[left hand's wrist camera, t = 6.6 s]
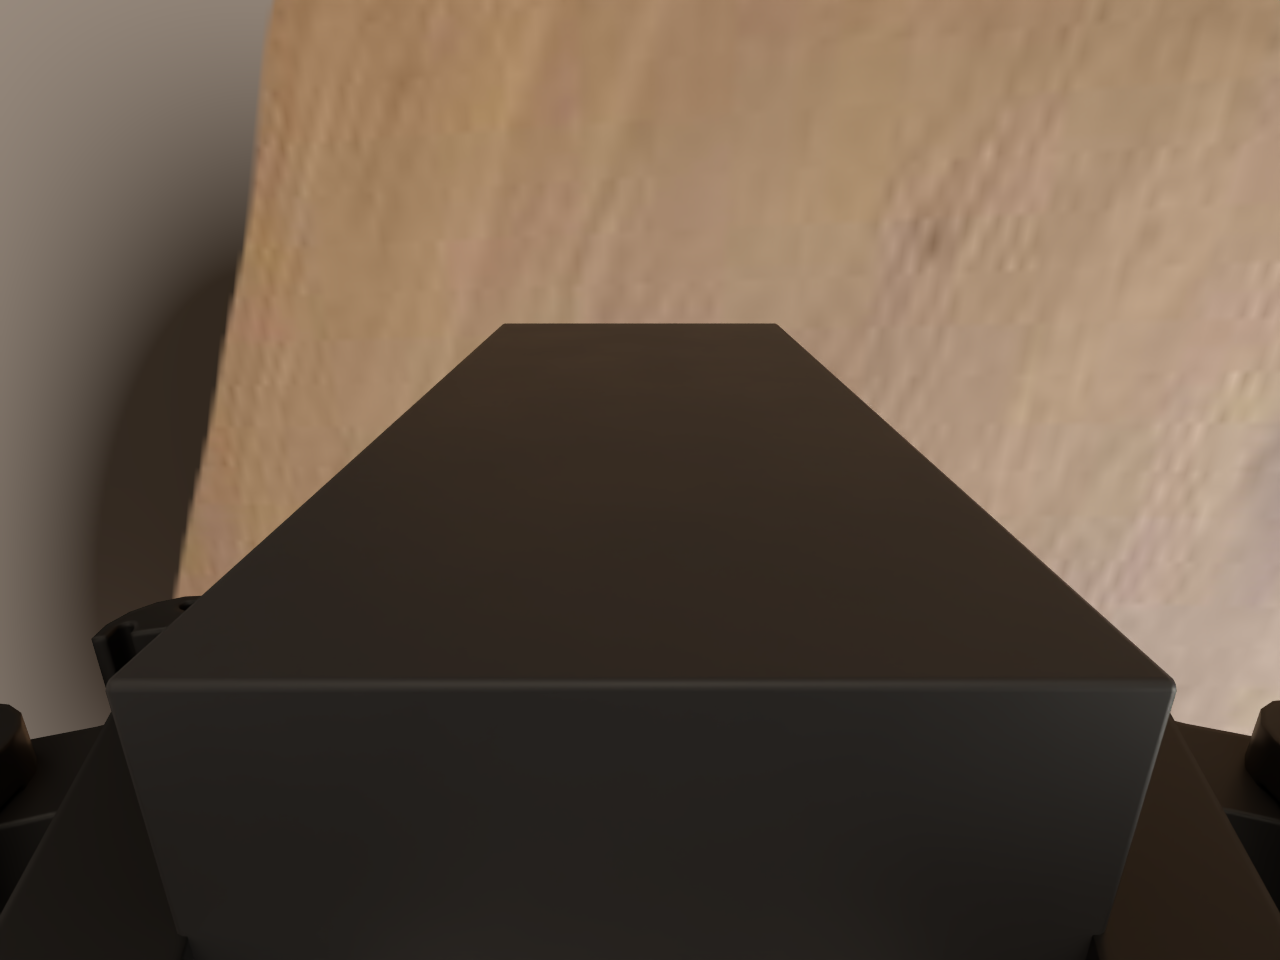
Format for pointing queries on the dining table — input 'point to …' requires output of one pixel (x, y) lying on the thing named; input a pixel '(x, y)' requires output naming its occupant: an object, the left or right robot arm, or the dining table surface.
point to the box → (640, 687)
